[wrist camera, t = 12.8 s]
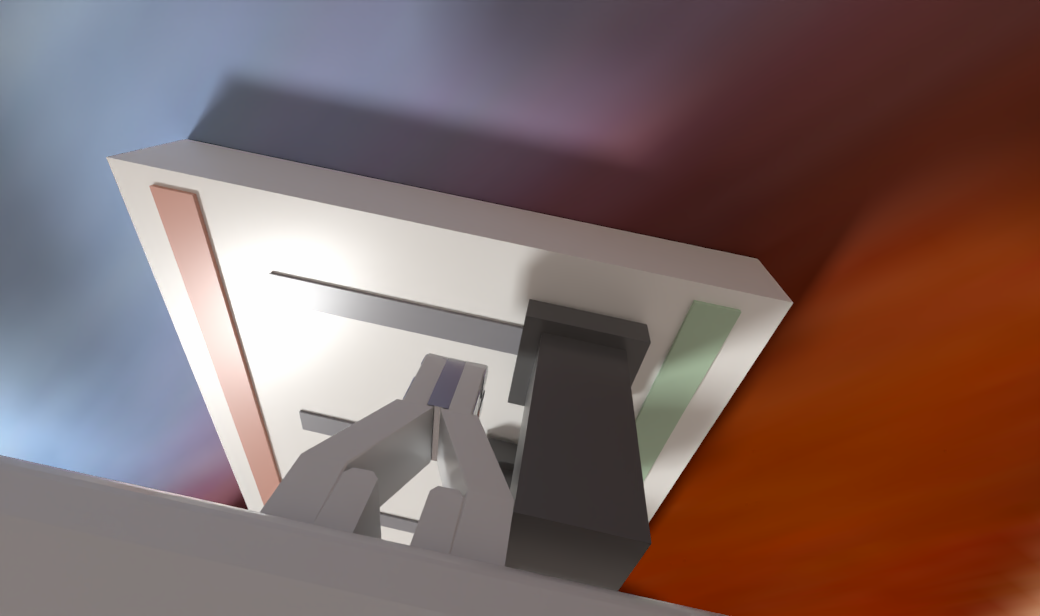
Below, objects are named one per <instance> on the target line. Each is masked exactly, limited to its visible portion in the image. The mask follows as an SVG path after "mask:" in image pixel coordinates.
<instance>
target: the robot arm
mask: <svg viewBox="0 0 1040 616" xmlns="http://www.w3.org/2000/svg"><path fill="white" fill-rule="evenodd" d="M487 375H488V366H487V365H484V364H479V363H474V362H468V361H463V360H459V359H454V358H450V357H449V358H448V357H444V356H440V355H436V354H431V353H429V354H427V355H425V357H424V359H423V360H422V362H421V366H420V368H419V370H418V372H417V374H416V376H415V377H414V378H413V380H412V382H411V384H410V386H409V388H408V390H407V391H406V393H405V395H404V397H403V400H400V399H396V400H394V401H392V402H391V403H389V404H387V405H385V406H384V407H382V408H380V409H378V410H377V411H375V412H373V413H371V414H370V415H368V416H366V417H364V418H363V419H361V420H359V421H357V422H356V423H354V424H352V425H350V426H349V427H347V428H345V429H343V430H342V431H340V432H338V433H336V434H335V435H333V436H331V437H329V438H328V439H326V440H324V441H322V442H321V443H319V444H317V445H315V446H314V447H312V448H310V449H308V450H307V451H305V452H303V453H301V454H300V456H299V457H298V459H297V460H296V461H295V463H294V464H293V466H292V467H291V469H290V470H289V471H288V473H287V474H286V476H285V477H284V478H283V480H282V481H281V483H280V484H279V485H278V487H277V488H276V490H275V491H274V493H273V494H272V495H271V497H270V498H269V500H268V501H267V502H266V504H265V505H264V507H263V508H262V510H261V511H260V512H256V511H252V510H247V509H243V508H238V507H233V506H229V505H224V504H220V503H215V502H211V501H206V500H202V499H197V498H193V497H188V496H184V495H179V494H174V493H170V492H165V491H161V490H156V489H152V488H147V487H143V486H138V485H134V484H129V483H125V482H120V481H116V480H111V479H107V478H102V477H97V476H93V475H88V474H84V473H79V472H75V471H70V470H66V469H61V468H57V467H52V466H48V465H43V464H39V463H34V462H30V461H25V460H20V459H16V458H11V457H7V456H2V455H0V616H727V615H723V614H718V613H713V612H709V611H704V610H700V609H695V608H691V607H686V606H682V605H677V604H673V603H668V602H664V601H659V600H654V599H650V598H645V597H641V596H636V595H632V594H627V593H623V592H618V591H614V590H609V589H605V588H600V587H596V586H591V585H587V584H582V583H577V582H573V581H568V580H564V579H559V578H555V577H550V576H546V575H541V574H537V573H532V572H528V571H523V570H519V569H514V568H510V567H505V560H506V554H507V547H508V540H509V534H510V527H511V520H512V514H513V507H514V499H513V496H512V494H511V492H510V489H509V487H508V485H507V482H506V480H505V478H504V475H503V473H502V471H501V468H500V466H499V464H498V461H497V459H496V457H495V454H494V452H493V450H492V447H491V445H490V443H489V440H488V438H487V436H486V433H485V431H484V429H483V426H482V424H481V422H480V415H481V410H482V406H483V401H484V395H485V390H484V388H485V384H486V380H487ZM431 460H433V461H437V465H438V469H439V473H440V478H441V482H442V486H443V487H442V486H437V487H435V488H433V489H431V490H430V491H429V494H428V497H427V500H426V502H425V505H424V508H423V511H422V513H421V516H420V519H419V522H418V524H417V527H416V530H415V533H414V535H413V538H412V541H411V543H410V545H406V544H401V543H397V542H392V541H388V540H383V539H381V523H380V507H381V506H382V505H383V504H384V503H385V502H386V501H387V500H389V499H390V498H391V497H392V496H393V495H394V494H395V493H396V492H398V491H399V490H400V489H401V488H402V487H403V486H404V485H405V484H407V483H408V482H409V481H410V480H411V479H412V478H413V477H414V476H416V475H417V474H418V473H419V472H420V471H421V470H422V469H423V468H425V467H426V466H427V465H428V464H429V463H430V461H431Z"/></svg>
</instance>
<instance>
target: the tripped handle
mask: <svg viewBox="0 0 1040 616" xmlns="http://www.w3.org/2000/svg"><path fill="white" fill-rule="evenodd" d="M650 344H651V341H650V336H649V331H648V327H647V324H643V323H639V322H634V321H629V320H625V319H620V318H615V317H611V316H606V315H602V314H597V313H592V312H588V311H583V310H578V309H574V308H569V307H564V306H560V305H555V304H551V303H546V302H541V301H537V300H532V299H529V303H528V308H527V312H526V316H525V321H524V326H523V331H522V335H521V340H520V345H519V350H518V354H517V359H516V364H515V369H514V373H513V378H512V383H511V388H510V392H509V397H508V403H512V404H517V405H521V406H524V412H523V418H522V424H521V429H520V435H519V441H518V446H517V452H516V458H515V464H514V469H513V475H512V481H511V487H510V492H511V494H512V496H513V499H514V507H513V514H512V520H511V527H510V534H509V540H508V547H507V554H506V560H505V567H510V568H514V569H519V570H523V571H528V572H532V573H537V574H541V575H546V576H550V577H555V578H559V579H564V580H568V581H573V582H577V583H582V584H587V585H591V586H596V587H600V588H605V589H609V590H614V591H618V590H619V589H620V587H621V586H622V584H623V583H624V582H625V580H626V579H627V577H628V576H629V574H630V573H631V572H632V570H633V569H634V567H635V566H636V564H637V563H638V562H639V560H640V559H641V557H642V556H643V555H644V553H645V552H646V550H647V549H648V547H649V546H650V545H651V538H650V530H649V522H648V514H647V507H646V499H645V491H644V484H643V476H642V468H641V460H640V453H639V445H638V437H637V429H636V422H635V414H634V406H633V398H632V391H631V386H632V384H633V382H634V379H635V377H636V375H637V373H638V371H639V368H640V366H641V364H642V362H643V359H644V357H645V355H646V353H647V350H648V348H649V346H650Z"/></svg>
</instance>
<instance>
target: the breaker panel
mask: <svg viewBox="0 0 1040 616" xmlns="http://www.w3.org/2000/svg"><path fill="white" fill-rule="evenodd" d="M106 158H107V160H108V163H109V165H110V168H111V170H112V173H113V175H114V178H115V180H116V183H117V185H118V188H119V190H120V192H121V195H122V197H123V200H124V202H125V205H126V207H127V210H128V212H129V215H130V217H131V220H132V222H133V225H134V227H135V230H136V232H137V235H138V237H139V240H140V242H141V245H142V247H143V249H144V252H145V254H146V257H147V259H148V262H149V264H150V267H151V269H152V272H153V274H154V277H155V279H156V282H157V284H158V287H159V289H160V292H161V294H162V297H163V299H164V302H165V304H166V307H167V309H168V311H169V314H170V316H171V319H172V321H173V324H174V326H175V329H176V331H177V334H178V336H179V339H180V341H181V344H182V346H183V349H184V351H185V354H186V356H187V359H188V361H189V364H190V366H191V369H192V371H193V373H194V376H195V378H196V381H197V383H198V386H199V388H200V391H201V393H202V396H203V398H204V401H205V403H206V406H207V408H208V411H209V413H210V416H211V418H212V421H213V423H214V426H215V428H216V431H217V433H218V435H219V438H220V440H221V443H222V445H223V448H224V450H225V453H226V455H227V458H228V460H229V463H230V465H231V468H232V470H233V473H234V475H235V478H236V480H237V483H238V485H239V488H240V490H241V492H242V495H243V497H244V500H245V502H246V505H247V507H248V510H252V511H256V512H260V511H261V510H262V508H263V507H264V505H265V504H266V502H267V501H268V500H269V498H270V497H271V495H272V494H273V493H274V491H275V490H276V488H277V487H278V485H279V484H280V483H281V481H282V480H283V478H284V477H285V476H286V474H287V473H288V471H289V470H290V469H291V467H292V466H293V464H294V463H295V461H296V460H297V459H298V457H299V456H300V454H301V453H303V452H305V451H307V450H308V449H310V448H312V447H314V446H315V445H317V444H319V443H321V442H322V441H324V440H326V439H328V438H329V437H331V436H333V435H335V434H336V433H338V432H340V431H342V430H343V429H345V428H347V427H349V426H350V425H352V424H354V423H356V422H357V421H359V420H361V419H363V418H364V417H366V416H368V415H370V414H371V413H373V412H375V411H377V410H378V409H380V408H382V407H384V406H385V405H387V404H389V403H391V402H392V401H394V400H396V399H400V400H403V397H404V395H405V393H406V391H407V390H408V388H409V386H410V384H411V382H412V380H413V378H414V377H415V376H416V374H417V372H418V370H419V368H420V366H421V362H422V360H423V359H424V357H425V355H427V354H429V353H431V354H436V355H440V356H444V357H448V358H449V357H450V358H454V359H459V360H463V361H468V362H474V363H479V364H484V365H487V366H488V375H487V380H486V384H485V388H484V390H485V395H484V401H483V406H482V410H481V415H480V422H481V424H482V426H483V429H484V431H485V433H486V436H487V437H488V438H492V439H497V440H501V441H505V442H510V443H514V444H518V441H519V435H520V429H521V424H522V418H523V412H524V406H521V405H517V404H512V403H508V397H509V392H510V388H511V383H512V378H513V373H514V369H515V364H516V359H517V354H518V350H519V345H520V340H521V335H522V331H523V326H524V321H525V316H526V312H527V308H528V303H529V299H532V300H537V301H541V302H546V303H551V304H555V305H560V306H564V307H569V308H574V309H578V310H583V311H588V312H592V313H597V314H602V315H606V316H611V317H615V318H620V319H625V320H629V321H634V322H639V323H643V324H647V327H648V331H649V336H650V341H651V344H650V346H649V348H648V350H647V353H646V355H645V357H644V359H643V362H642V364H641V366H640V368H639V371H638V373H637V375H636V377H635V379H634V382H633V384H632V386H631V391H632V398H633V406H634V414H635V422H636V429H637V437H638V445H639V453H640V460H641V468H642V476H643V484H644V491H645V499H646V507H647V514H648V522H650V520H651V518H652V517H653V515H654V514H655V512H656V511H657V509H658V508H659V506H660V505H661V503H662V502H663V500H664V499H665V497H666V496H667V494H668V493H669V491H670V490H671V488H672V487H673V485H674V483H675V482H676V480H677V479H678V477H679V476H680V474H681V473H682V471H683V470H684V468H685V467H686V465H687V464H688V462H689V461H690V459H691V458H692V456H693V455H694V453H695V452H696V450H697V449H698V447H699V445H700V444H701V442H702V441H703V439H704V438H705V436H706V435H707V433H708V432H709V430H710V429H711V427H712V426H713V424H714V423H715V421H716V420H717V418H718V417H719V415H720V414H721V412H722V410H723V409H724V407H725V406H726V404H727V403H728V401H729V400H730V398H731V397H732V395H733V394H734V392H735V391H736V389H737V388H738V386H739V385H740V383H741V382H742V380H743V379H744V377H745V375H746V374H747V372H748V371H749V369H750V368H751V366H752V365H753V363H754V362H755V360H756V359H757V357H758V356H759V354H760V353H761V351H762V350H763V348H764V347H765V345H766V344H767V342H768V341H769V339H770V337H771V336H772V334H773V333H774V331H775V330H776V328H777V327H778V325H779V324H780V322H781V321H782V319H783V318H784V316H785V315H786V313H787V312H788V310H789V309H790V307H791V306H792V304H793V302H792V301H791V299H790V298H789V297H788V296H787V294H786V293H785V292H784V291H783V289H782V288H781V287H780V286H779V284H778V283H777V282H776V281H775V279H774V278H773V277H772V276H771V275H770V273H769V272H768V271H767V270H766V268H765V267H764V266H763V265H762V263H761V262H760V261H759V260H758V259H756V258H752V257H747V256H742V255H737V254H732V253H728V252H723V251H718V250H713V249H709V248H704V247H699V246H694V245H690V244H685V243H680V242H675V241H670V240H666V239H661V238H656V237H651V236H647V235H642V234H637V233H632V232H628V231H623V230H618V229H613V228H608V227H604V226H599V225H594V224H589V223H585V222H580V221H575V220H570V219H565V218H561V217H556V216H551V215H546V214H542V213H537V212H532V211H527V210H523V209H518V208H513V207H508V206H503V205H499V204H494V203H489V202H484V201H480V200H475V199H470V198H465V197H461V196H456V195H451V194H446V193H441V192H437V191H432V190H427V189H422V188H418V187H413V186H408V185H403V184H399V183H394V182H389V181H384V180H379V179H375V178H370V177H365V176H360V175H356V174H351V173H346V172H341V171H337V170H332V169H327V168H322V167H317V166H313V165H308V164H303V163H298V162H294V161H289V160H284V159H279V158H275V157H270V156H265V155H260V154H255V153H251V152H246V151H241V150H236V149H232V148H227V147H222V146H217V145H212V144H208V143H203V142H198V141H193V140H189V139H184V140H179V141H175V142H170V143H166V144H161V145H157V146H153V147H148V148H144V149H139V150H135V151H131V152H126V153H122V154H117V155H113V156H109V157H106ZM437 486H442V482H441V478H440V473H439V469H438V465H437V461H433V460H431V461H430V463H429V464H428V465H427V466H426V467H425V468H423V469H422V470H421V471H420V472H419V473H418V474H417V475H416V476H414V477H413V478H412V479H411V480H410V481H409V482H408V483H407V484H405V485H404V486H403V487H402V488H401V489H400V490H399V491H398V492H396V493H395V494H394V495H393V496H392V497H391V498H390V499H389V500H387V501H386V502H385V503H384V504H383V505H382V506H381V507H380V523H381V539H383V540H388V541H392V542H397V543H401V544H406V545H410V543H411V541H412V538H413V535H414V533H415V530H416V527H417V524H418V522H419V519H420V516H421V513H422V511H423V508H424V505H425V502H426V500H427V497H428V494H429V491H430V490H431V489H433V488H435V487H437ZM442 487H443V486H442Z"/></svg>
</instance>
